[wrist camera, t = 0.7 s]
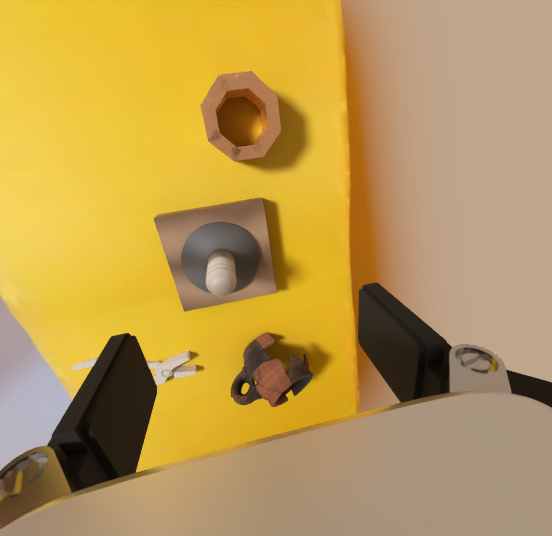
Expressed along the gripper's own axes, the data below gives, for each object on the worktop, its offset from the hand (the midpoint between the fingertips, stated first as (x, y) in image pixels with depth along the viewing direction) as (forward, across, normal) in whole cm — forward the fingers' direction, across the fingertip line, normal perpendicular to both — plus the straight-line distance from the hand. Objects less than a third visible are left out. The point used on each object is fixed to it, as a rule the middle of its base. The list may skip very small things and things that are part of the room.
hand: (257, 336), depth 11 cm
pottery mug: (+23, -1, +23) cm, 33 cm away
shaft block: (+23, +2, +4) cm, 24 cm away
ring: (+23, -2, -10) cm, 25 cm away
